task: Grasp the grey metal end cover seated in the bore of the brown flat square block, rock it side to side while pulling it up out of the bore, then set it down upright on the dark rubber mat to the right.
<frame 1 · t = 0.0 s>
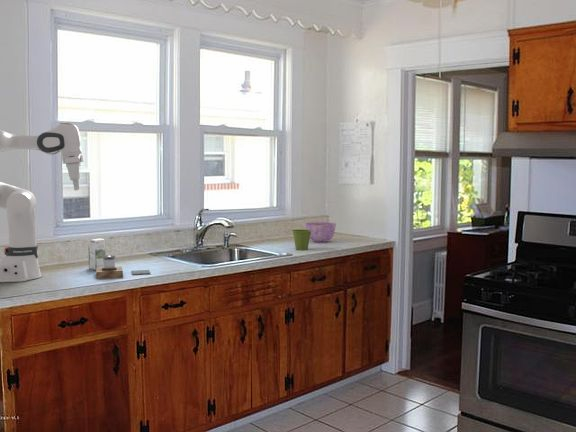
hand: (76, 189, 264), 39 cm above the counter, tool pointing down, fingers open, 8 cm apart
mat: (140, 273, 272), on the counter
plant pot: (301, 249, 345), on the counter
purple rounded bowl: (320, 241, 379), on the counter
syrup box: (97, 269, 283), on the counter
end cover: (109, 265, 265), in the brown flat square block
brown flat square block: (109, 275, 265), on the counter
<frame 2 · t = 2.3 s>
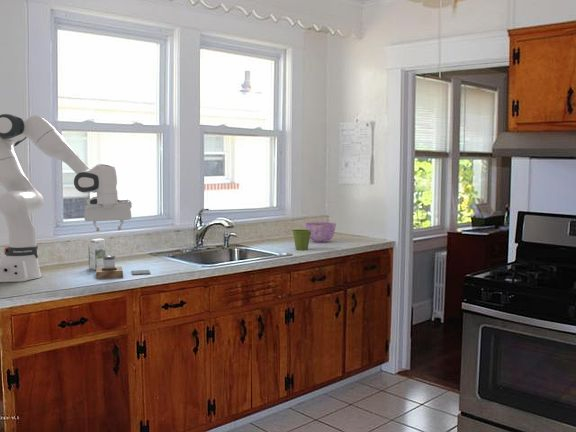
hand: (108, 230, 263), 21 cm above the counter, tool pointing down, fingers open, 8 cm apart
nothing on the counter moved.
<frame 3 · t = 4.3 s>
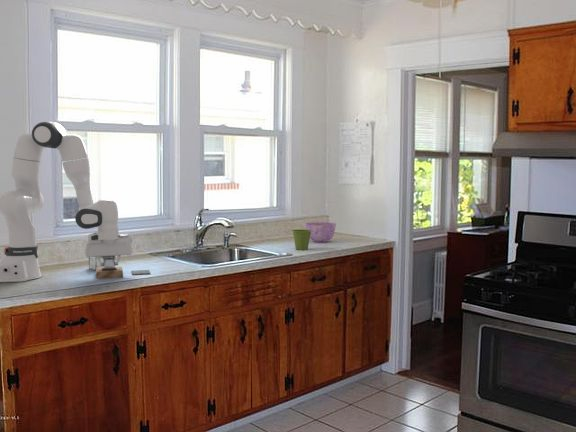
hand: (109, 265, 265), 5 cm above the counter, tool pointing down, fingers closed on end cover, 5 cm apart
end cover: (109, 265, 265), in the brown flat square block, touching gripper
everything else where it was.
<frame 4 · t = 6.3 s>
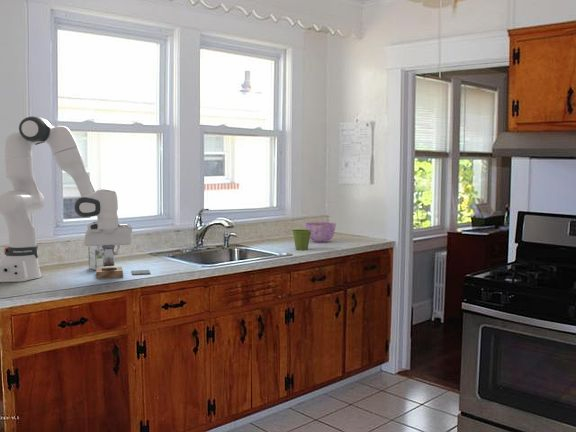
hand: (108, 255, 264), 9 cm above the counter, tool pointing down, fingers closed on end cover, 5 cm apart
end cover: (108, 255, 264), point 9 cm above the counter, touching gripper
everything else where it was.
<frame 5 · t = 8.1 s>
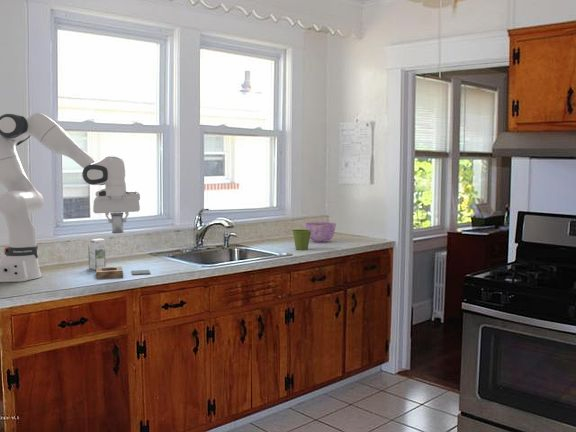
hand: (117, 222, 265), 24 cm above the counter, tool pointing down, fingers closed on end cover, 5 cm apart
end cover: (117, 222, 265), point 24 cm above the counter, touching gripper
everything else where it was.
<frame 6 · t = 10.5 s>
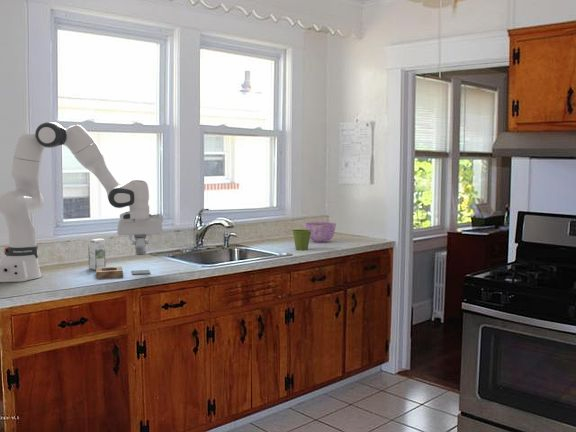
hand: (140, 244, 270), 13 cm above the counter, tool pointing down, fingers closed on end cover, 5 cm apart
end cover: (140, 244, 270), point 13 cm above the counter, touching gripper
everything else where it was.
when the fingers open (7 cm above the counter, at t = 12.3 s): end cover drops 1 cm, resting on mat.
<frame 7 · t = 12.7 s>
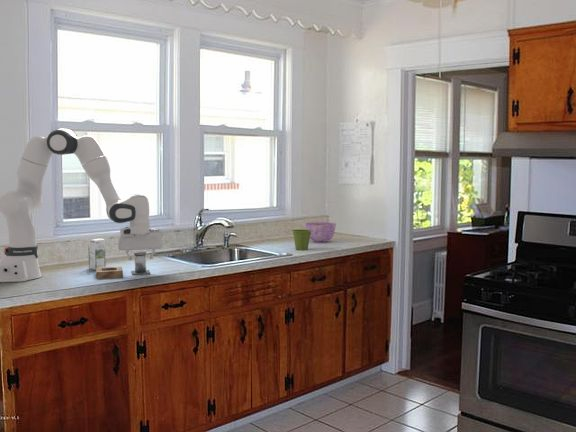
hand: (140, 259, 271), 7 cm above the counter, tool pointing down, fingers open, 8 cm apart
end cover: (140, 262, 271), on the mat, point 5 cm above the counter
everything else where it was.
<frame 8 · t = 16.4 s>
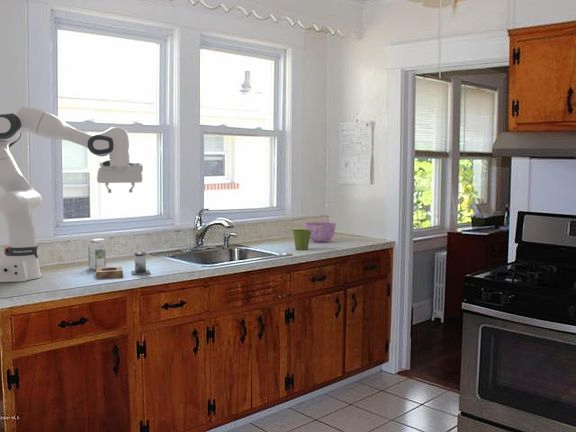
hand: (120, 192, 272), 37 cm above the counter, tool pointing down, fingers open, 8 cm apart
nothing on the counter moved.
at the end: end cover inside the target area on the mat (0.1 cm from its centre), point 5.1 cm above the mat's base; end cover tilted 0°; the gripper is holding nothing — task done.
